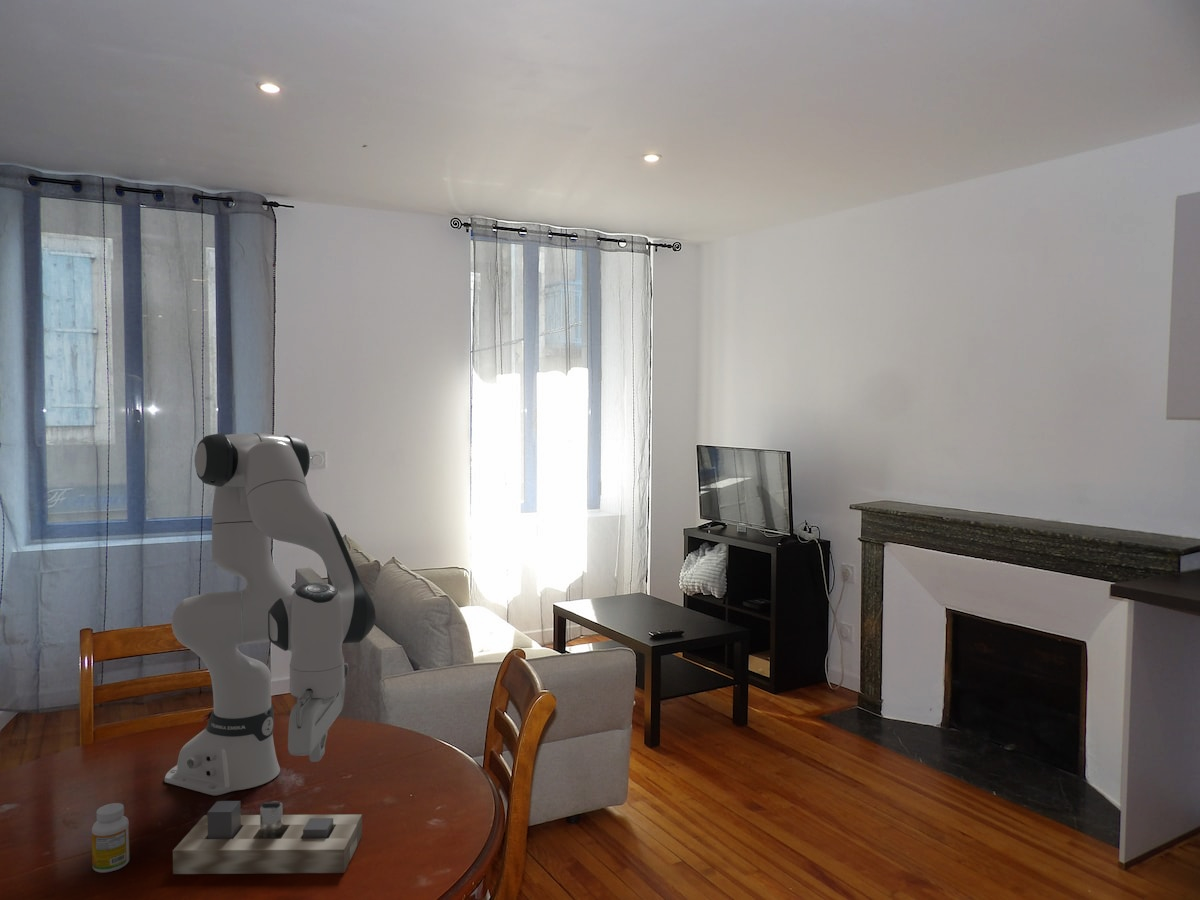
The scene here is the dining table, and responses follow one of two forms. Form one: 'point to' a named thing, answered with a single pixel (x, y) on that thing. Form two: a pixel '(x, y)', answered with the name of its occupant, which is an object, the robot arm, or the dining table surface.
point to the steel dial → (271, 820)
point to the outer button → (318, 828)
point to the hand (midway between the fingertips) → (317, 758)
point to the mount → (269, 848)
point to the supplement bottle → (110, 839)
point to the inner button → (224, 820)
